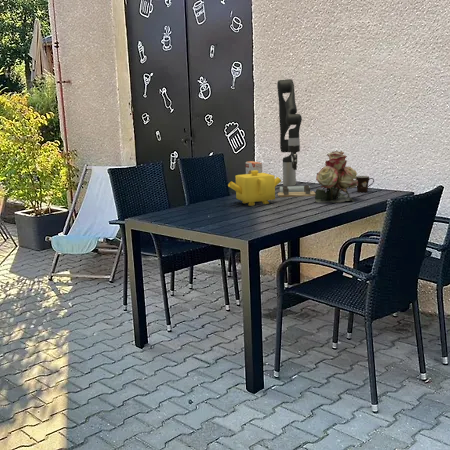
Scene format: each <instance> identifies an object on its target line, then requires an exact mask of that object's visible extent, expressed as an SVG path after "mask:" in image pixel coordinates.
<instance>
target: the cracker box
mask: <svg viewBox="0 0 450 450" xmlns="http://www.w3.org/2000/svg"><path fill="white" fill-rule="evenodd" d="M253 170H257V171H258V173H263V162H258V161H254V160H252V161H251V160H249V161H246V162H245V174H252V173H251V171H253Z"/></svg>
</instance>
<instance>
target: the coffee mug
mask: <svg viewBox="0 0 450 450" xmlns="http://www.w3.org/2000/svg"><path fill="white" fill-rule="evenodd" d="M356 176H357V177H356V178H357V179H355V180H358V181H357V182H358V186H356V191H357V192H356V193H360V192H361V193H362V194H363V192H365V193H368V189H369V187H371V186H372V185H373V184H374V182H375V179H374V178H373V177H370V176H367V175H356ZM371 179H372V182H371V183H370V184H369V181H370V180H371Z"/></svg>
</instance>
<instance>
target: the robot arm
mask: <svg viewBox="0 0 450 450" xmlns="http://www.w3.org/2000/svg"><path fill="white" fill-rule="evenodd" d="M276 85H277V86H276V87H277V96H278V98H277V99H278V114H279V115H278V119H279V129H280V130H279V132H280V133H279V141H280V142H279V145H280V146H279V147H280V152H281V153H290V154H289V155H287V156H285V157H282V185H283V186H282V187H288V186H297V183H296V182H297V181H296V180H297V176H296V175H297V173H296V171H297V169H298V166H297V165H298V154H297V153H299V152H301V150H300V149H301V147H300V146H301V143H300V142H301V141H300V128H301V125H302V121H303V117H302V115H301V114H300V113H297V112H298V109H297V104H296V93H295V84H294V80H292V79H286V78H285V79H280V80H278V81H277V84H276ZM284 94H289V96H288V97H287V99H286V100H285V98H284ZM291 126H295V127H293V128H290V127H291ZM287 132H288V139H286V135H287Z"/></svg>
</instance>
